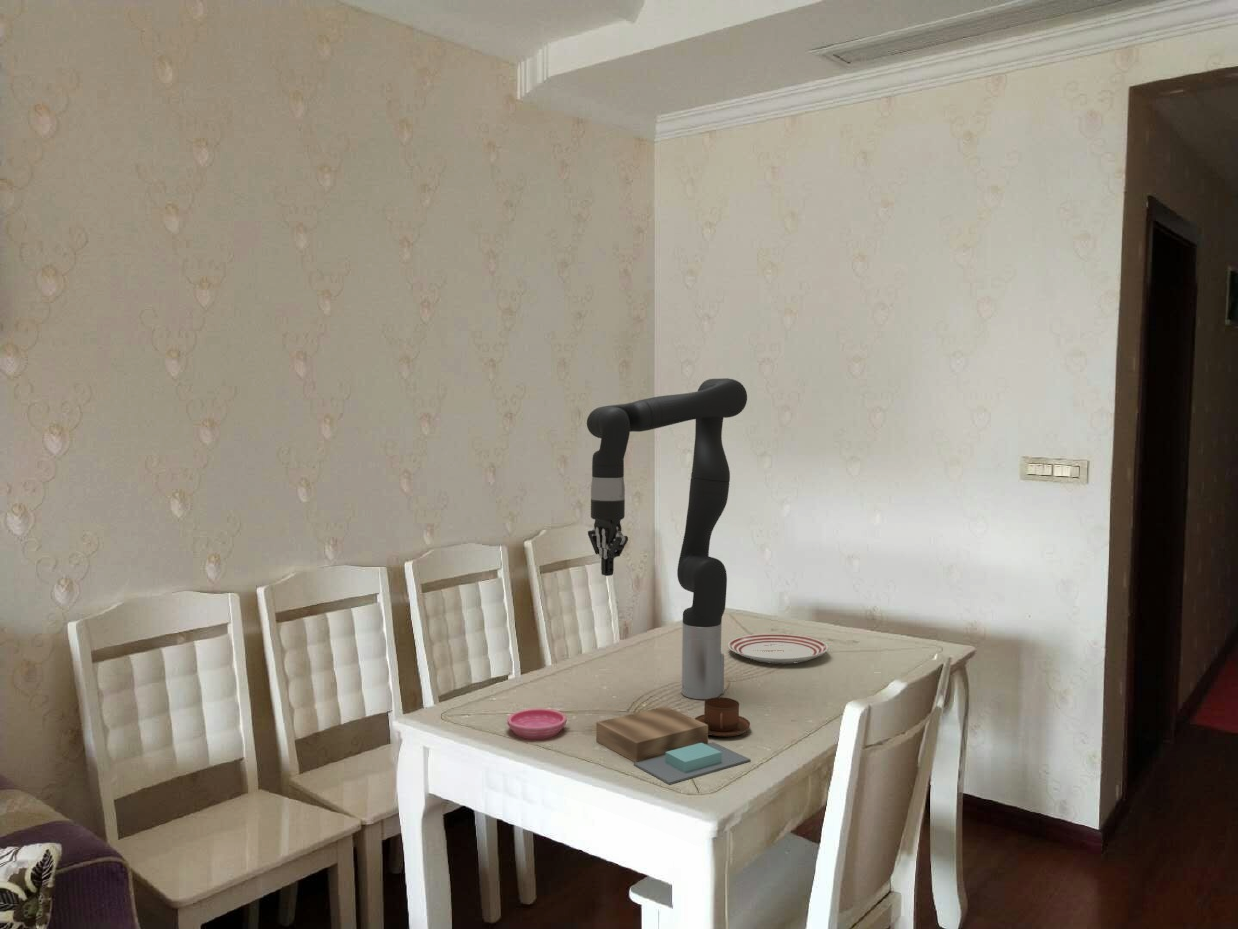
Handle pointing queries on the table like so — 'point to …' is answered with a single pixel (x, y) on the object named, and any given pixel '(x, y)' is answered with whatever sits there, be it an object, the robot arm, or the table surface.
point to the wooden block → (650, 733)
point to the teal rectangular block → (693, 757)
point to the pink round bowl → (537, 723)
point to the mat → (673, 774)
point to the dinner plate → (778, 647)
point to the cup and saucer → (723, 717)
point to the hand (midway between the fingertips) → (607, 575)
